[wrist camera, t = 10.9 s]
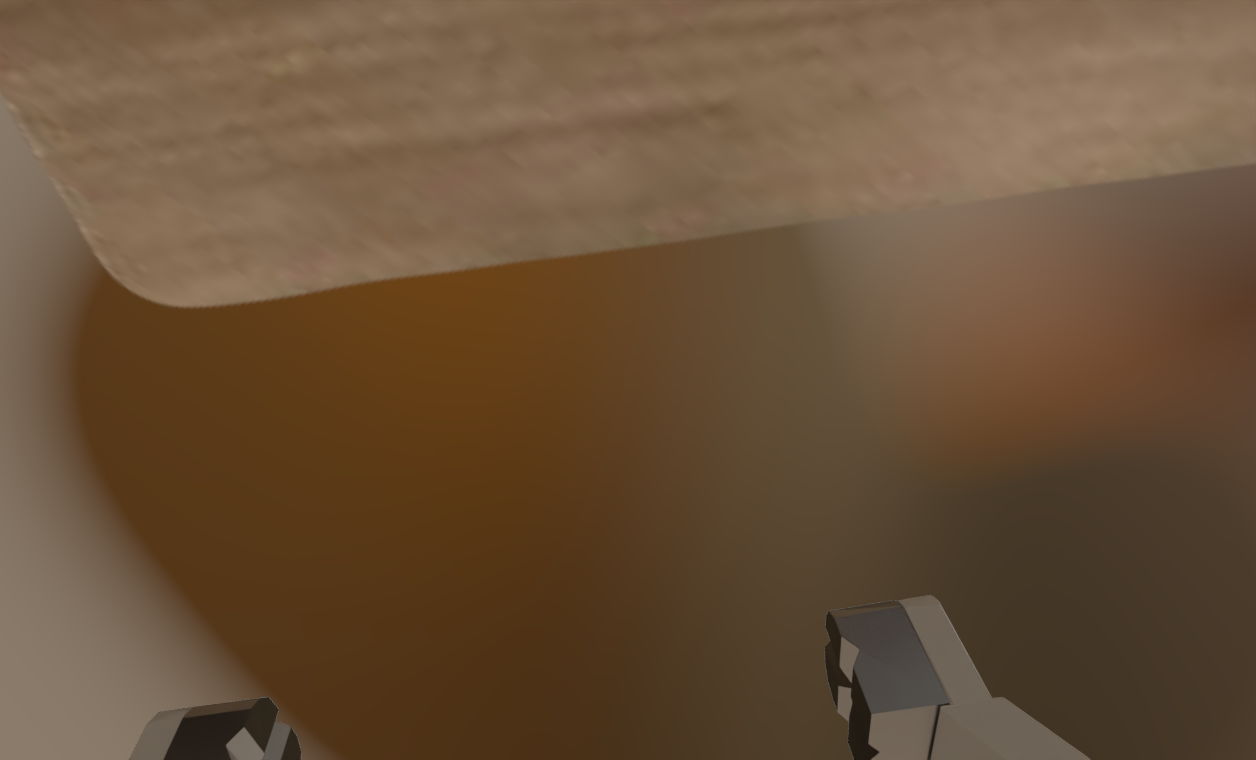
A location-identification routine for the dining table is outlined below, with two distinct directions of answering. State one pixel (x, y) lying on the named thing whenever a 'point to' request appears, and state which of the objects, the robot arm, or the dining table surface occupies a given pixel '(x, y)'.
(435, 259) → the dining table surface
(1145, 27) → the dining table surface
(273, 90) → the dining table surface
